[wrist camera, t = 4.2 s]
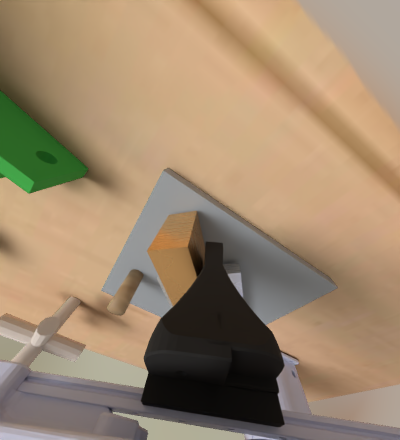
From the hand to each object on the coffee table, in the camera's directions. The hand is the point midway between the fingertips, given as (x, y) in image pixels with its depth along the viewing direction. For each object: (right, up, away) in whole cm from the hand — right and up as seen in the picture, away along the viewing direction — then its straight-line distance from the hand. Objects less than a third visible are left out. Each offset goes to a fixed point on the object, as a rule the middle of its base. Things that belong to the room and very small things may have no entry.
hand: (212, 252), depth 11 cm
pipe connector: (-20, -10, +12) cm, 26 cm away
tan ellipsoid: (-8, -4, +5) cm, 10 cm away
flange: (-1, -3, +4) cm, 5 cm away
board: (0, -5, +7) cm, 8 cm away
